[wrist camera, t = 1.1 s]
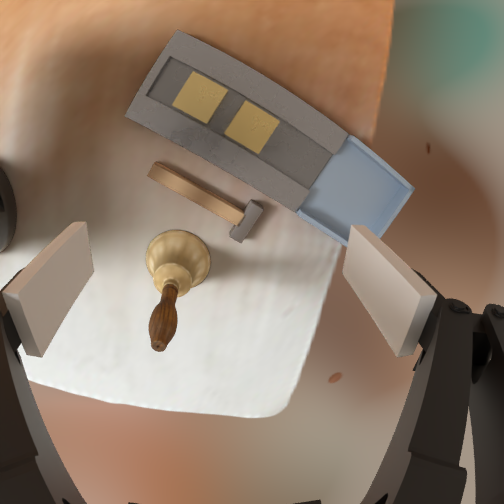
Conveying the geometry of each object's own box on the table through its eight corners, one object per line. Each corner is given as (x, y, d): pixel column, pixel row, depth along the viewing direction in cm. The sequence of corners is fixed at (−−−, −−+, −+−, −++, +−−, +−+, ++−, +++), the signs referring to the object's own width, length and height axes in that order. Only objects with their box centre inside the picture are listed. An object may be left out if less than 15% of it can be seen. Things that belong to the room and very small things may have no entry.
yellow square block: (176, 105, 30) (171, 105, 28) (195, 74, 29) (193, 71, 26) (208, 123, 31) (206, 123, 29) (228, 92, 30) (228, 89, 27)
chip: (224, 132, 32) (223, 133, 29) (244, 101, 31) (245, 100, 28) (255, 150, 33) (258, 154, 30) (275, 120, 32) (280, 121, 29)
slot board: (129, 115, 31) (124, 116, 29) (179, 33, 27) (177, 29, 26) (292, 208, 37) (295, 212, 36) (343, 132, 34) (349, 134, 32)
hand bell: (209, 229, 38) (201, 305, 23) (211, 288, 41) (207, 379, 27) (142, 230, 37) (98, 303, 23) (150, 288, 40) (120, 375, 26)
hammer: (144, 185, 35) (140, 188, 33) (163, 149, 33) (160, 150, 32) (240, 238, 39) (241, 243, 37) (262, 205, 37) (263, 210, 36)
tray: (293, 208, 37) (298, 216, 35) (344, 133, 34) (353, 135, 31) (356, 249, 40) (364, 259, 38) (404, 183, 37) (415, 188, 34)
